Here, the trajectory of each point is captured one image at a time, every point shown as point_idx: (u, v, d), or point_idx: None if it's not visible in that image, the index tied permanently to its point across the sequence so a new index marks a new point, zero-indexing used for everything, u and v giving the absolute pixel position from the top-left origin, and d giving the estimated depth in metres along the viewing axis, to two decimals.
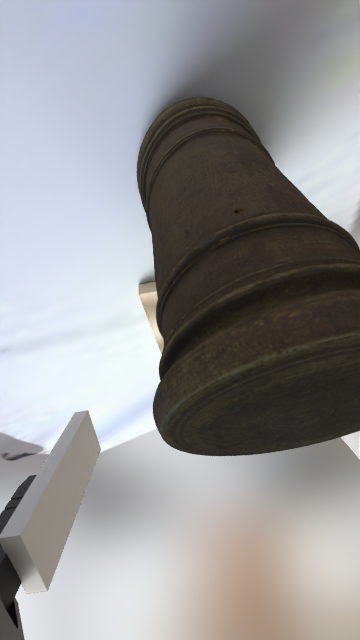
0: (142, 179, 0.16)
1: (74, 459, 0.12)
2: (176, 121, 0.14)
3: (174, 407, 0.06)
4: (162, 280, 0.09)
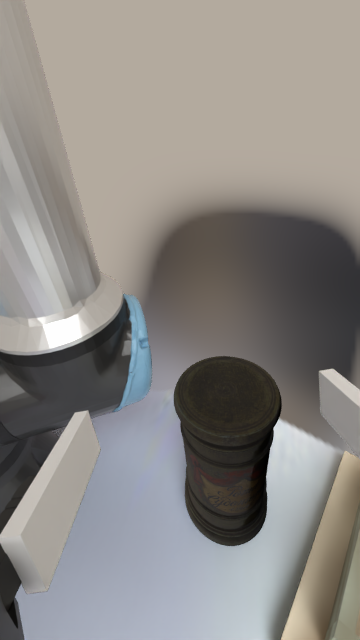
0: (192, 506, 0.27)
1: (74, 459, 0.12)
2: None
3: (176, 403, 0.20)
4: (185, 443, 0.22)
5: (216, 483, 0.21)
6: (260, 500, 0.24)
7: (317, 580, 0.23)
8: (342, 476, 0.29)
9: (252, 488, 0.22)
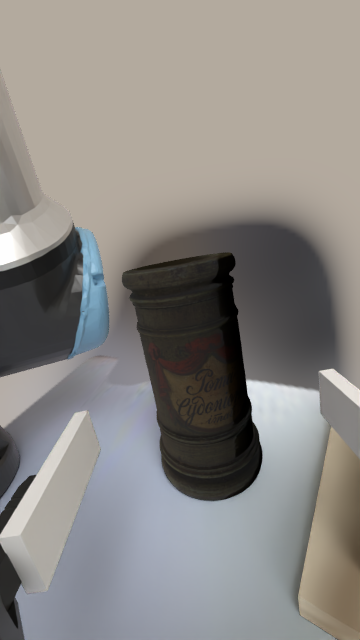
0: (167, 457, 0.21)
1: (74, 459, 0.12)
2: None
3: (123, 273, 0.18)
4: (142, 339, 0.19)
5: (181, 371, 0.18)
6: (245, 416, 0.20)
7: (336, 501, 0.17)
8: None
9: (227, 380, 0.18)
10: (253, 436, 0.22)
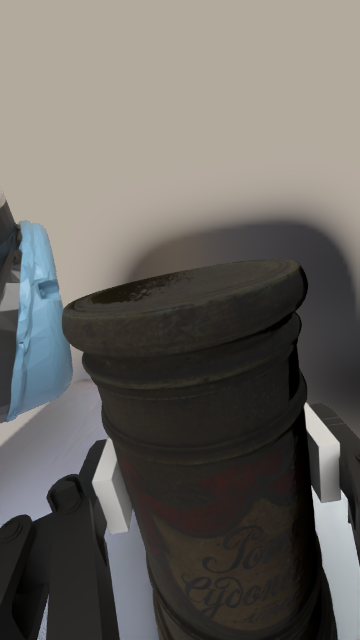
0: (165, 635, 0.12)
1: None
2: None
3: None
4: None
5: (190, 530, 0.08)
6: (316, 580, 0.10)
7: None
8: None
9: (291, 535, 0.08)
10: (322, 594, 0.12)
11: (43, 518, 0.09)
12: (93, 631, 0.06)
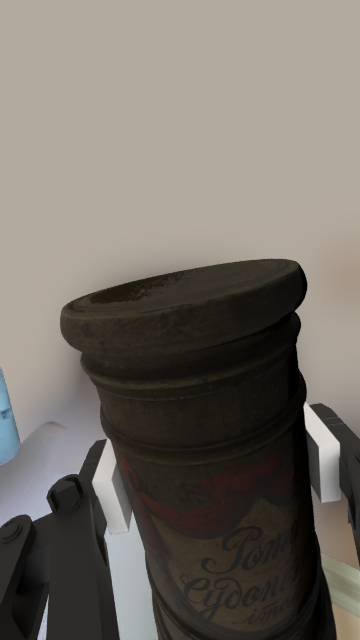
0: (165, 636, 0.12)
1: None
2: None
3: None
4: None
5: (189, 531, 0.08)
6: (316, 581, 0.10)
7: None
8: None
9: (290, 535, 0.08)
10: (322, 595, 0.12)
11: (43, 518, 0.09)
12: (92, 631, 0.06)
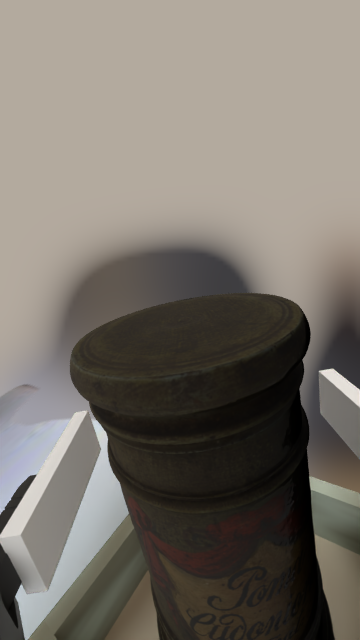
0: None
1: (74, 459, 0.12)
2: None
3: (71, 354, 0.09)
4: None
5: (196, 571, 0.08)
6: (317, 609, 0.10)
7: None
8: None
9: (293, 572, 0.09)
10: (323, 619, 0.12)
11: None
12: None
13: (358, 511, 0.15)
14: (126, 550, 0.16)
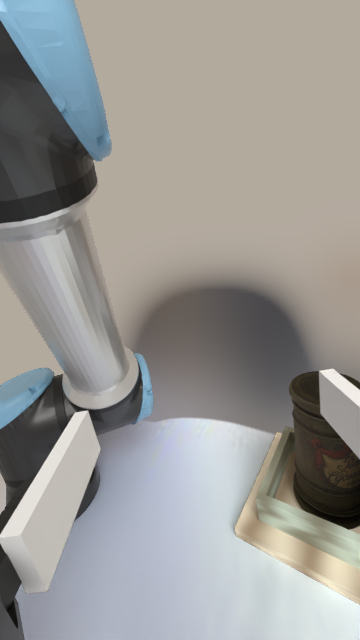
0: (310, 501, 0.34)
1: (74, 459, 0.12)
2: (294, 478, 0.37)
3: (299, 398, 0.31)
4: (305, 433, 0.32)
5: (336, 457, 0.30)
6: None
7: (257, 494, 0.39)
8: (274, 444, 0.47)
9: None
10: None
11: None
12: None
13: None
14: (276, 473, 0.38)
